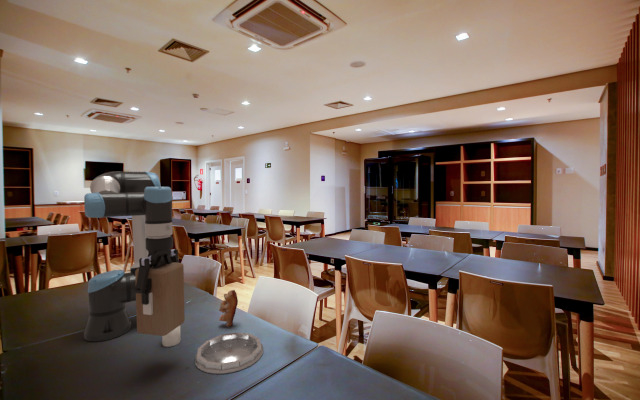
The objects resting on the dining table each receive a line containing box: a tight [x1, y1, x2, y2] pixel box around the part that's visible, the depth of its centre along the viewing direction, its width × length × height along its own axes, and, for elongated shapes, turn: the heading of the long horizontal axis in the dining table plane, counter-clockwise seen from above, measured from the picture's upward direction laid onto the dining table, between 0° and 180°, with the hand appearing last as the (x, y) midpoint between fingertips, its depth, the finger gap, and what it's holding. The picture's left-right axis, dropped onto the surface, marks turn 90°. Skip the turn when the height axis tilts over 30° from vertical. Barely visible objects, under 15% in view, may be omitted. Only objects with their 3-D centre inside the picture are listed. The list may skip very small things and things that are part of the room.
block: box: [135, 262, 186, 337], centre depth 94 cm, size 10×10×20 cm
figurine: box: [218, 289, 239, 327], centre depth 123 cm, size 6×8×15 cm
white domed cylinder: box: [161, 325, 182, 348], centre depth 110 cm, size 6×6×7 cm
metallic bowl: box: [194, 332, 264, 375], centre depth 102 cm, size 22×22×2 cm
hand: (161, 306), depth 95 cm, fingers closed on block, 10 cm apart
